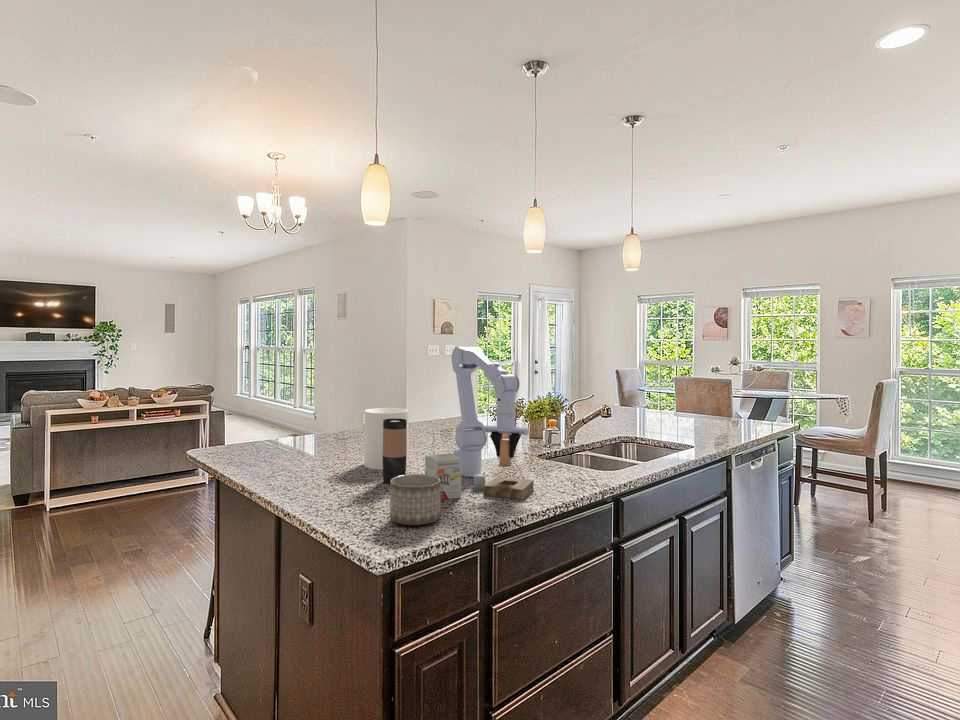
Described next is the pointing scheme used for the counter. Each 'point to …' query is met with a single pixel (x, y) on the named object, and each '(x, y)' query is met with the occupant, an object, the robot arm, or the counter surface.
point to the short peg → (479, 481)
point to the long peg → (505, 453)
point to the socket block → (508, 488)
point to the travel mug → (394, 448)
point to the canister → (379, 434)
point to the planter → (415, 499)
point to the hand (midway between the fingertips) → (505, 456)
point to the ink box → (445, 473)
